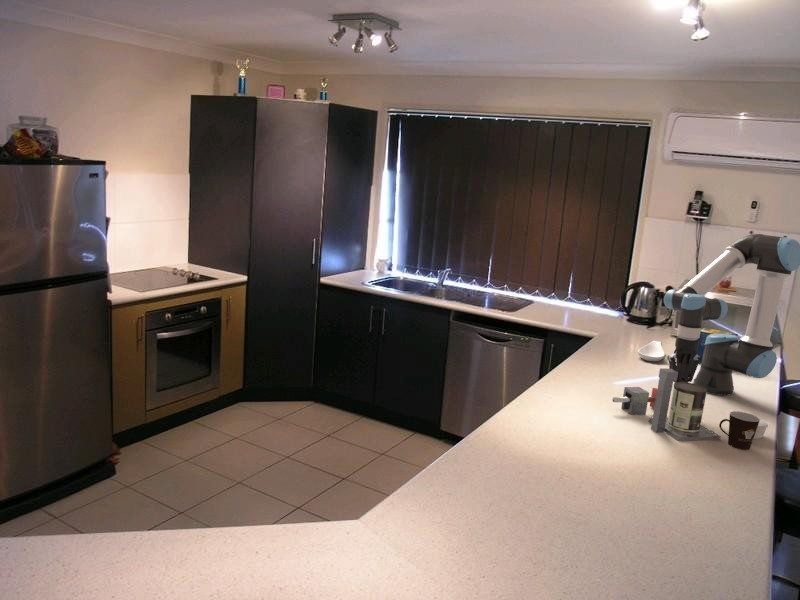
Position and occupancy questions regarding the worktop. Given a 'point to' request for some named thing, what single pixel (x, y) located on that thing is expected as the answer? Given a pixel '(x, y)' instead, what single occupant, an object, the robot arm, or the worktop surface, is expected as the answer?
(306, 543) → the worktop surface
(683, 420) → the coffee can
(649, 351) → the spoon rest
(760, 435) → the ramekin
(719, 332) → the protein box
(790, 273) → the robot arm
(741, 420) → the coffee mug
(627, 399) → the lever
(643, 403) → the press
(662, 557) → the worktop surface
